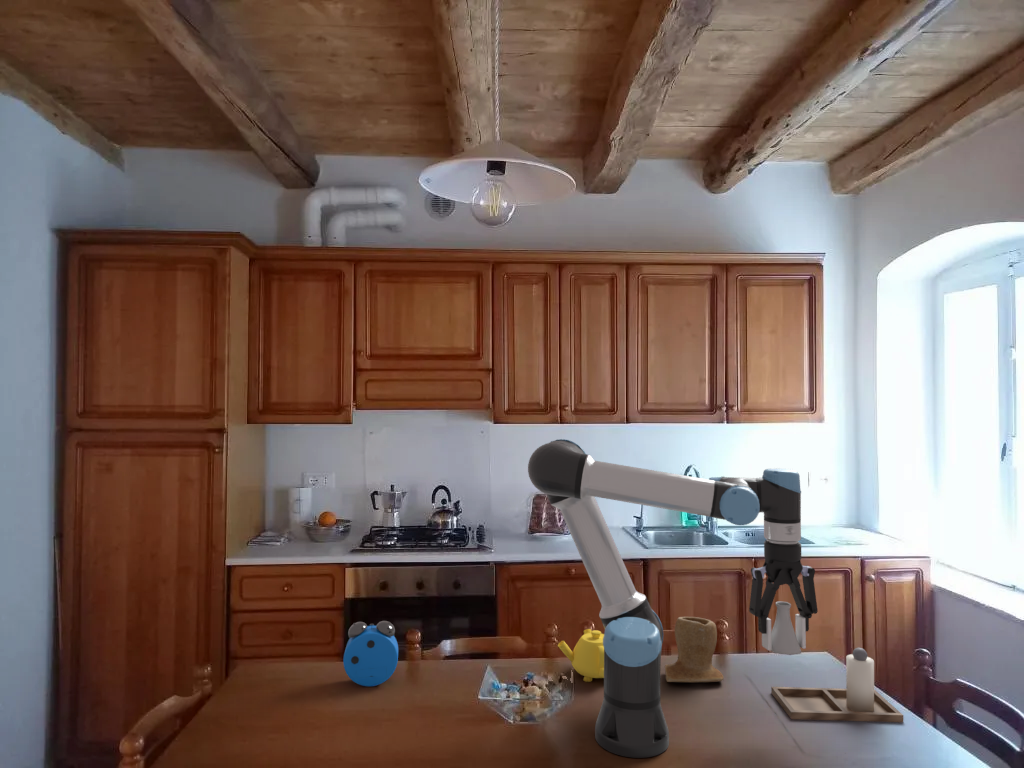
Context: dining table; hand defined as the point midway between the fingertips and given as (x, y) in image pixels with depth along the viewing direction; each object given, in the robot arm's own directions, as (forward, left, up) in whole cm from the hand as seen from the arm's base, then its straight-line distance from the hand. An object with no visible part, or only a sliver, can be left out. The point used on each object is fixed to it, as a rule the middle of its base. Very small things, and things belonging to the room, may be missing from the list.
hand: (783, 646), depth 147 cm
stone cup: (-14, +25, -18) cm, 34 cm away
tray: (+14, +9, -17) cm, 24 cm away
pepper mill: (+20, +9, -17) cm, 28 cm away
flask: (0, 0, -1) cm, 1 cm away
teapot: (-40, +26, -18) cm, 50 cm away
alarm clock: (-95, +17, -18) cm, 98 cm away
